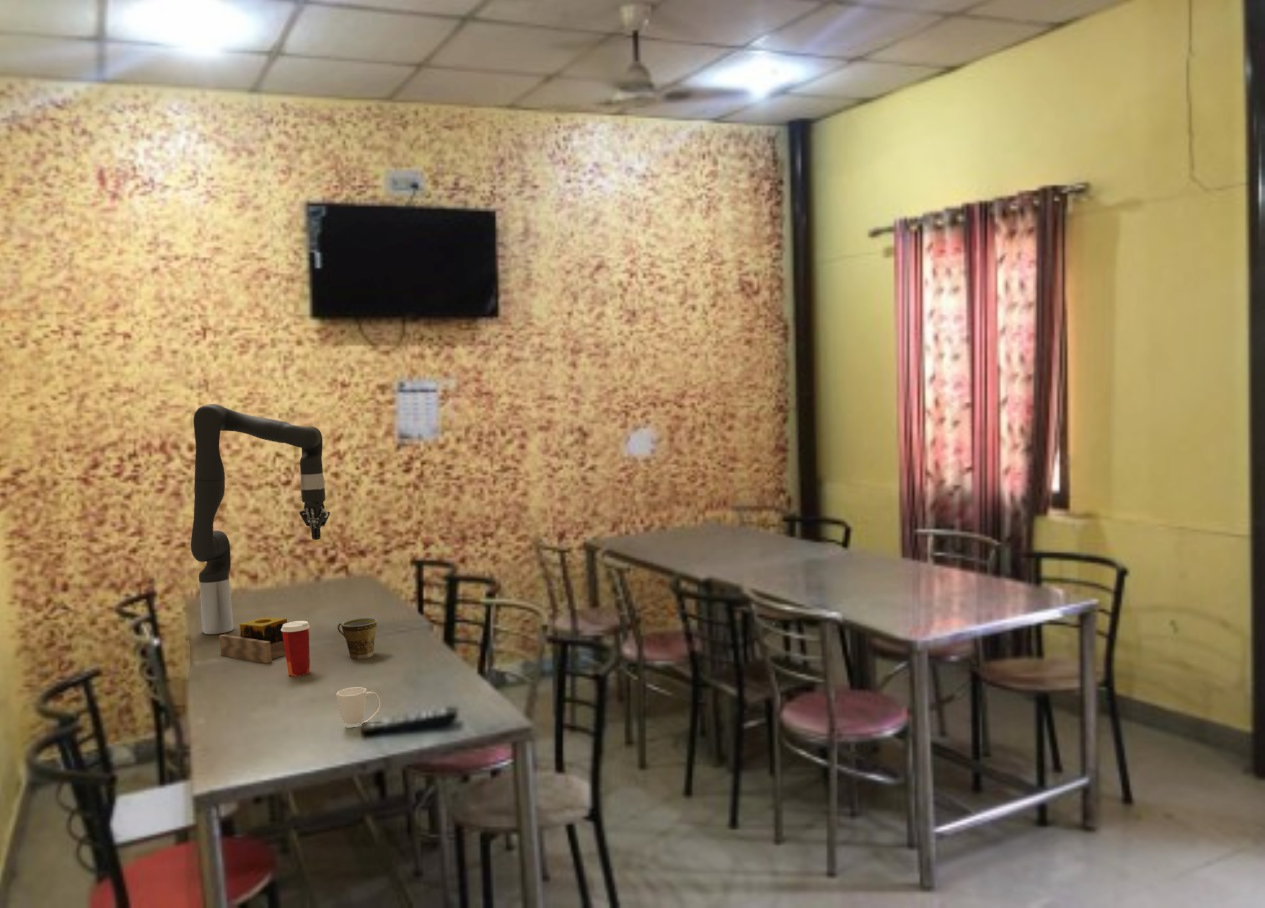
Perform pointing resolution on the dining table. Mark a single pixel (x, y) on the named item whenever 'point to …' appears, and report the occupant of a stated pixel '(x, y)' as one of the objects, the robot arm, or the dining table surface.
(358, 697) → the cup
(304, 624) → the paper cup
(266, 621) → the candle
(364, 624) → the ceramic cup
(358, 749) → the dining table surface
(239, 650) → the brown rectangular block structure
